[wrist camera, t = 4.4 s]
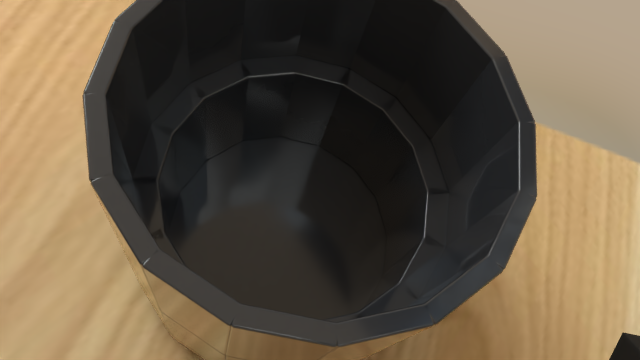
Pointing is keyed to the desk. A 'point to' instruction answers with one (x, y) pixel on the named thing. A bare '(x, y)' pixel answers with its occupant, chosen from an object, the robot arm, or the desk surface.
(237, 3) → the cup
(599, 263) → the desk surface
